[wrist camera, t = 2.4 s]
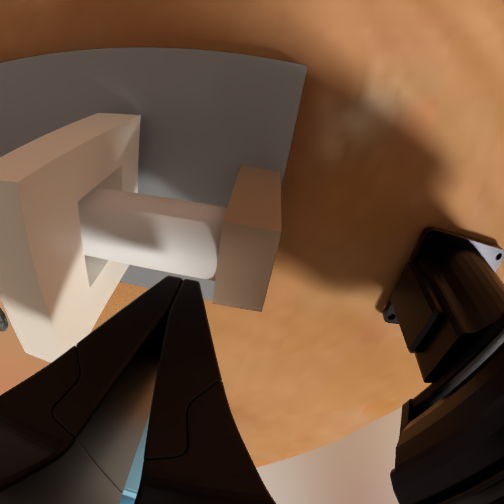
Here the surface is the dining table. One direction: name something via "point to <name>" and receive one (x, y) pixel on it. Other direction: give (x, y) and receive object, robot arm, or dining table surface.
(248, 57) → the pipe stand
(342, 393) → the dining table surface
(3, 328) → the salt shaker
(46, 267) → the collar
